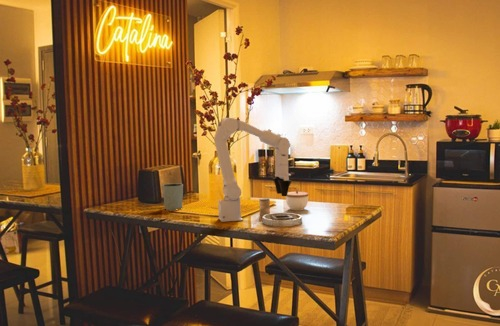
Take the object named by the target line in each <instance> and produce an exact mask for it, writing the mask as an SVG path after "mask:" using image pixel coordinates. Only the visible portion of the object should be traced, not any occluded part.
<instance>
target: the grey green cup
mask: <svg viewBox="0 0 500 326" xmlns="http://www.w3.org/2000/svg"><path fill="white" fill-rule="evenodd" d="M161 188H162V195H163V202H164V203H163V204H164V210H165V209H166V210H165V211H177V210H176V209H180V210H182V209H183V198H184V196H183V194H184V184H183V183H179V182H176V183H175V182H173V183H164V184H162V186H161ZM181 208H182V209H181Z"/></svg>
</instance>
